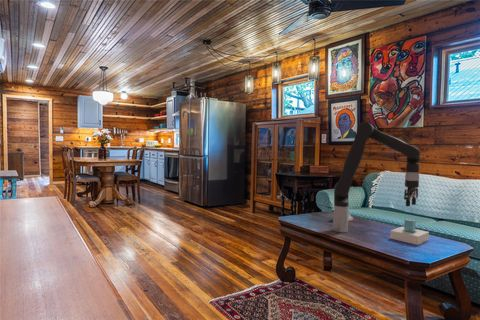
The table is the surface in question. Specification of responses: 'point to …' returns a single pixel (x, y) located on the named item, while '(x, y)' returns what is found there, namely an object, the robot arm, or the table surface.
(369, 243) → the table surface
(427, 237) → the block
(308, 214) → the table surface
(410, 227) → the bracket
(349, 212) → the hinge
